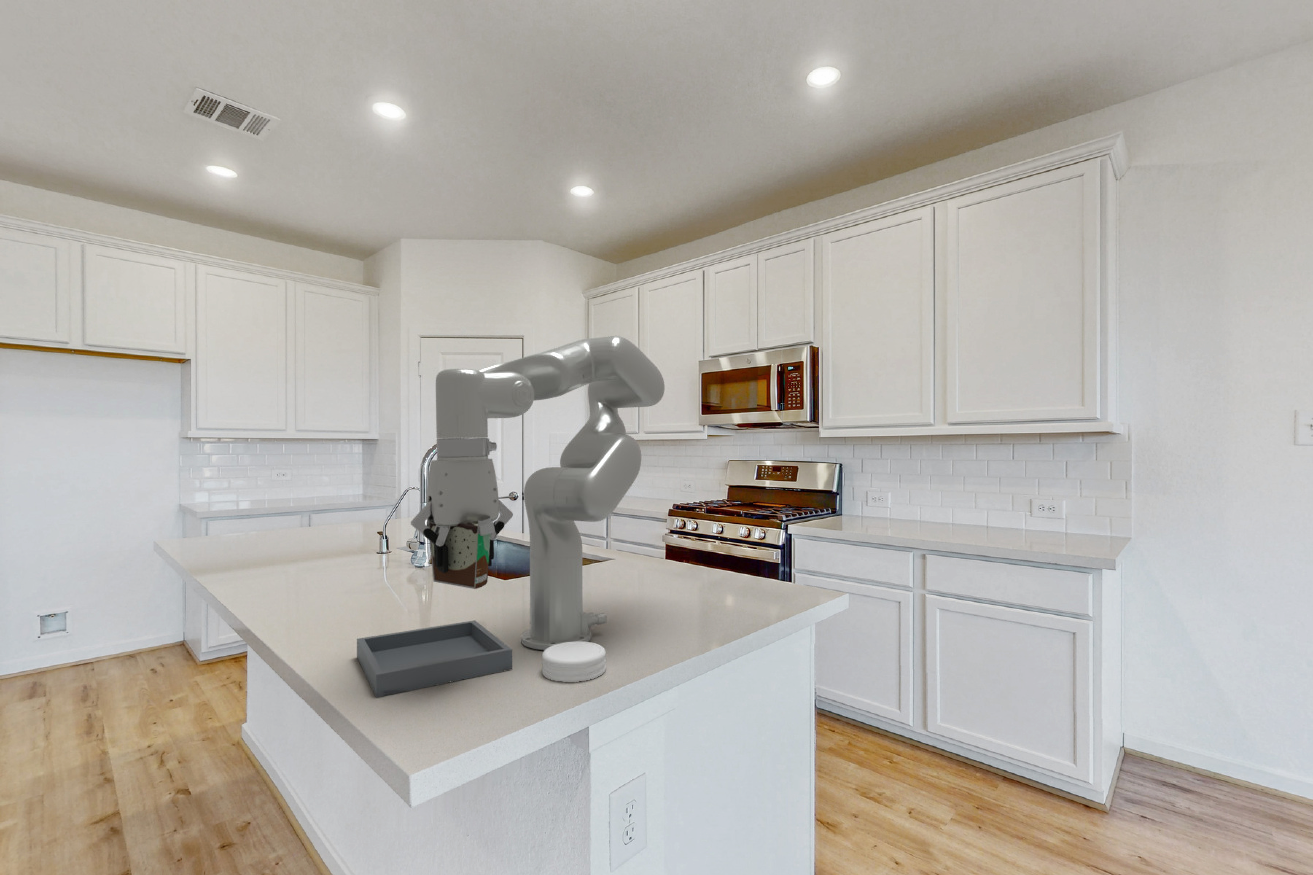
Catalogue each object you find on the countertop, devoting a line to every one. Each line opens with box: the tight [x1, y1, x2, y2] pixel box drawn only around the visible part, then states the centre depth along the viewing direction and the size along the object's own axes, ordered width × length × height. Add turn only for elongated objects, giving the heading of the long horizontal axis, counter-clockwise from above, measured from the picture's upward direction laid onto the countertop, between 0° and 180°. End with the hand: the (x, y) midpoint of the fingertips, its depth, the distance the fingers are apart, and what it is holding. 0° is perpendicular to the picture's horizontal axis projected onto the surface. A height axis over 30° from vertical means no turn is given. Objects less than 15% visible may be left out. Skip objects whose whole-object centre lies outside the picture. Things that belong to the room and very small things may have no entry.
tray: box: [356, 620, 513, 698], centre depth 103 cm, size 20×20×3 cm
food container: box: [426, 516, 495, 590], centre depth 96 cm, size 12×6×10 cm, turn 58°
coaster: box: [541, 641, 607, 683], centre depth 99 cm, size 10×10×4 cm
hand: (464, 566), depth 96 cm, fingers closed on food container, 6 cm apart
